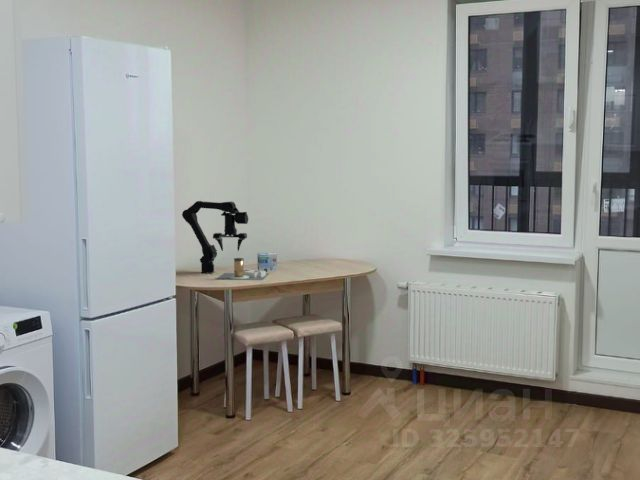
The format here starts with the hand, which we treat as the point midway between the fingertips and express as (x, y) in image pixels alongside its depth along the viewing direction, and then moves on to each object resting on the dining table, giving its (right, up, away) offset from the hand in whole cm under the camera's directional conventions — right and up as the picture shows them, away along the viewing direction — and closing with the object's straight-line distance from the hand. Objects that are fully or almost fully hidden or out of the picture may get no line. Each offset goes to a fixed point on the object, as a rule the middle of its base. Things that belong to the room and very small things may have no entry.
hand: (230, 250), depth 441 cm
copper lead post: (+7, -14, -19) cm, 25 cm away
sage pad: (+7, -15, -19) cm, 25 cm away
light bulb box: (+21, -13, +7) cm, 25 cm away
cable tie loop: (+16, -14, -12) cm, 24 cm away
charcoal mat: (+9, -15, -13) cm, 22 cm away
